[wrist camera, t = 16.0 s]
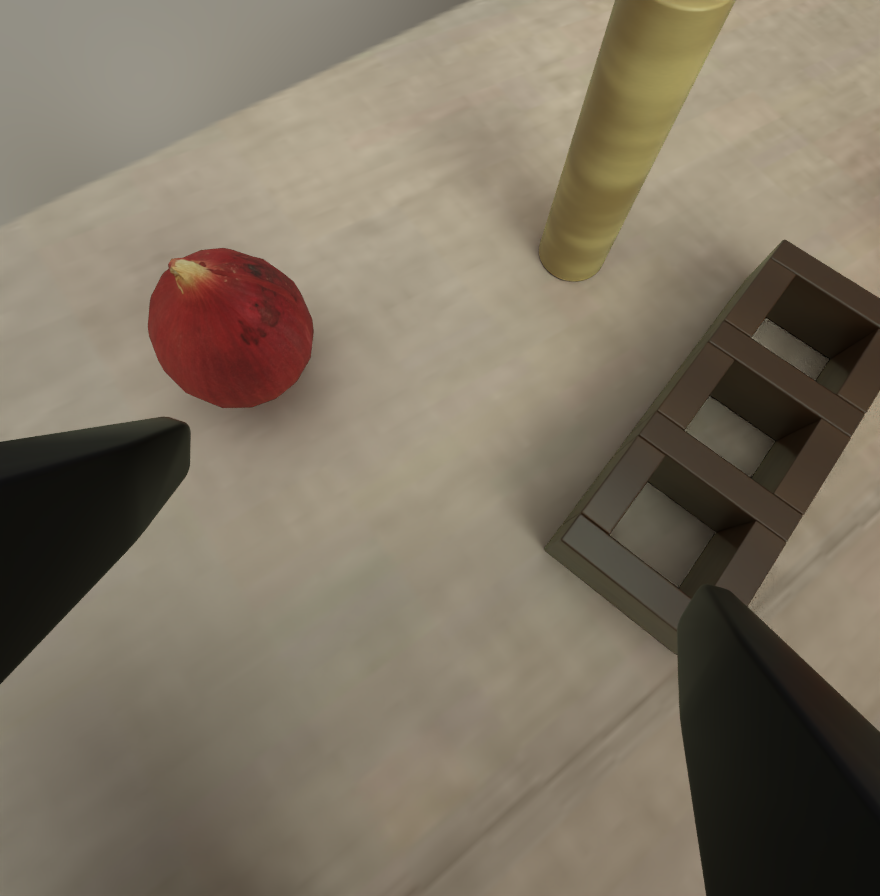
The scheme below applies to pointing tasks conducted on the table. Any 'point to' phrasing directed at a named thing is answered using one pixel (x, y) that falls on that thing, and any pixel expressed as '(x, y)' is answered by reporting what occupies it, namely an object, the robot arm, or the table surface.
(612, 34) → the tan hollow tube
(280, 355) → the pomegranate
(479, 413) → the table surface
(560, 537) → the rack
